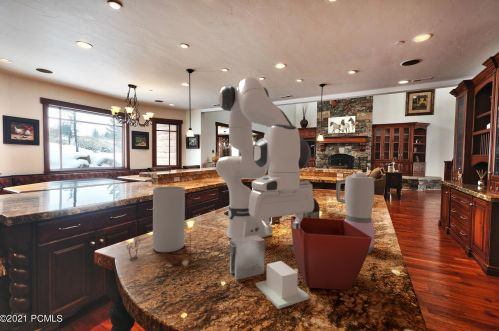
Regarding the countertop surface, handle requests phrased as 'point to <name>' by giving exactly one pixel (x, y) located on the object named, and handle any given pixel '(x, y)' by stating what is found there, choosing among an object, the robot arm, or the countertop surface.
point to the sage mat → (279, 301)
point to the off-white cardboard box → (282, 279)
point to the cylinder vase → (168, 218)
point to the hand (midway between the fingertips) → (282, 230)
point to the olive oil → (315, 211)
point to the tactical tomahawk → (290, 247)
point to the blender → (359, 203)
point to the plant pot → (329, 252)
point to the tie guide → (247, 257)
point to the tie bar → (232, 248)
